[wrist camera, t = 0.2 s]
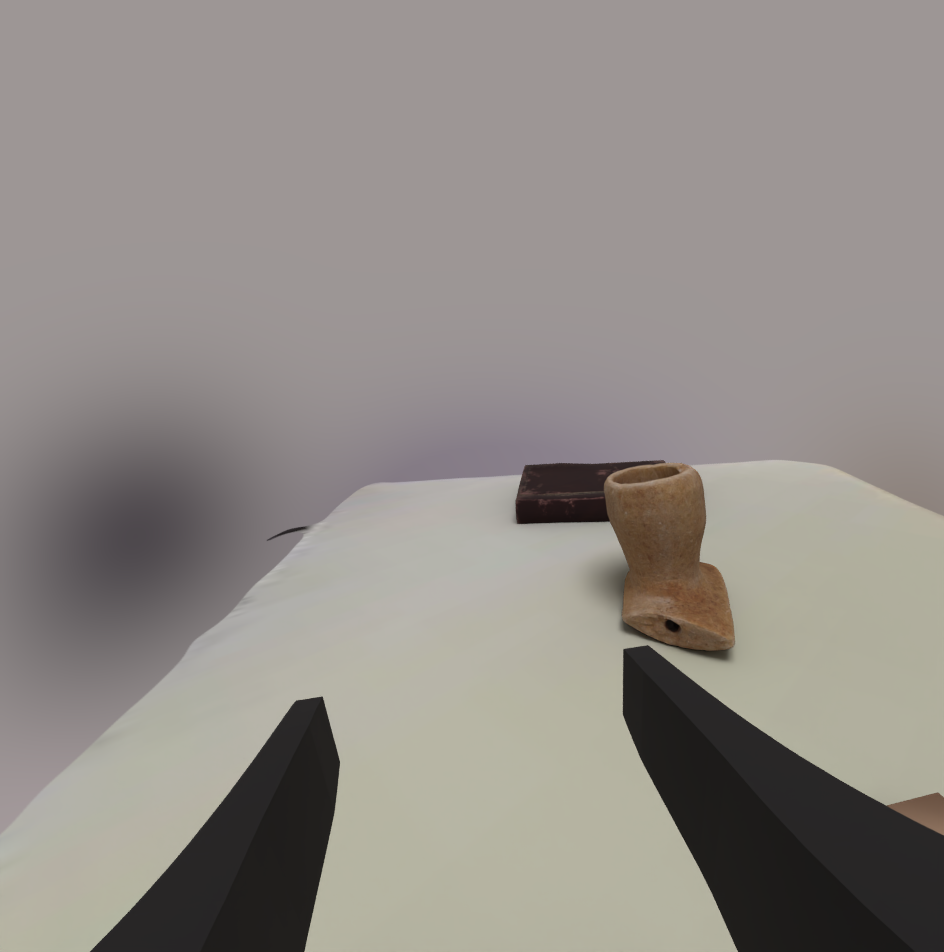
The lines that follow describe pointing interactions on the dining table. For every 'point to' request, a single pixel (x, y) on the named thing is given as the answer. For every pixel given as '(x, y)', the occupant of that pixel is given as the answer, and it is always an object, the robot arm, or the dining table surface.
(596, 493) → the diary
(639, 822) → the dining table surface
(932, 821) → the board
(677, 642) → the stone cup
